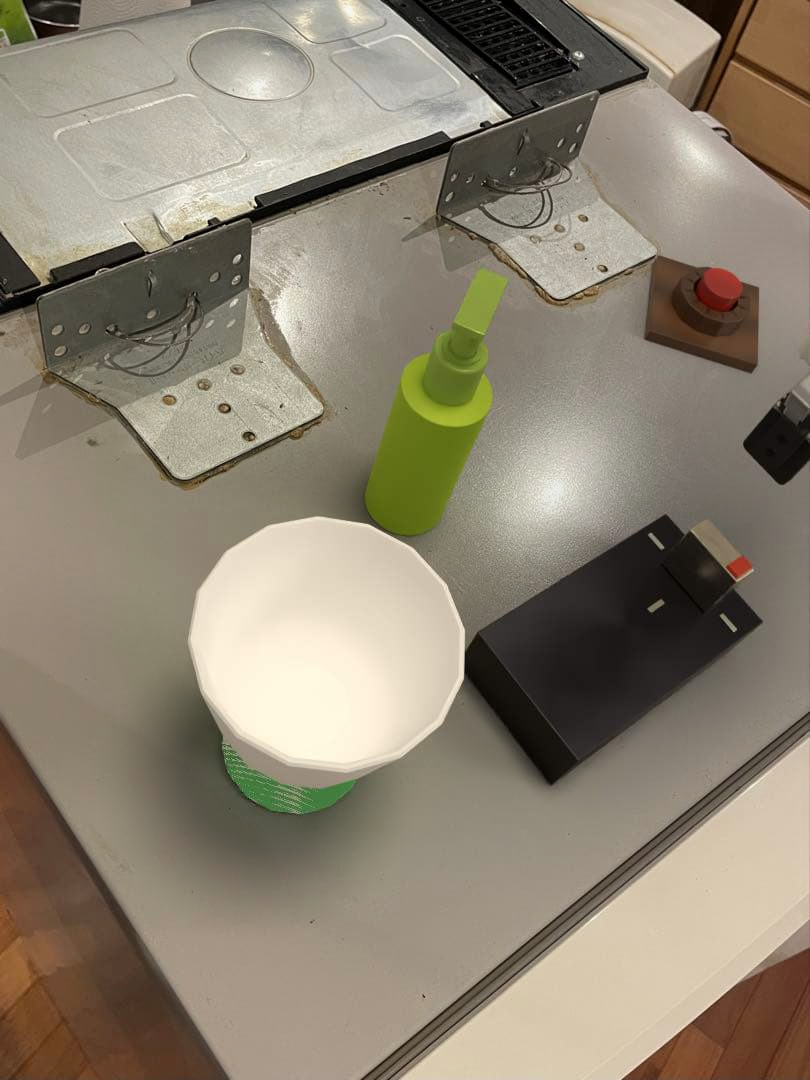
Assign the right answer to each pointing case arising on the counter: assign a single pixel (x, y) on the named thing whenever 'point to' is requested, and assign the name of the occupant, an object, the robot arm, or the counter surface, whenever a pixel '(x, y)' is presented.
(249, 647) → the cup
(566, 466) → the counter surface
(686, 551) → the red-tipped black block
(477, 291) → the soap dispenser
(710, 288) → the button
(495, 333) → the counter surface
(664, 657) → the black switch box
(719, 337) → the block
